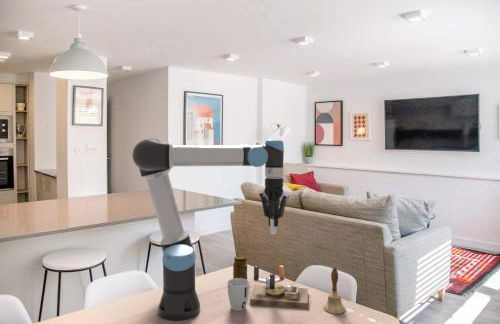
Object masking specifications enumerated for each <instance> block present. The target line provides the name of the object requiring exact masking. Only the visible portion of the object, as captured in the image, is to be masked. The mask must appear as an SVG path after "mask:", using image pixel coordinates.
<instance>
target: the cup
mask: <svg viewBox="0 0 500 324" xmlns="http://www.w3.org/2000/svg"><path fill="white" fill-rule="evenodd" d="M249 286H250V281H249V280H248V279H247V280H246V279H242V278H235V279H233V278H231V279H229V280H228V281H227V294H228V300H229V304H230V308H231V310H232V311H235V312H242V311H244V310H245V309H246V306H247V303H248V296H249V289H250V288H249Z"/></svg>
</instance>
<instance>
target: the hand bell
mask: <svg viewBox="0 0 500 324" xmlns="http://www.w3.org/2000/svg"><path fill="white" fill-rule="evenodd" d="M330 276H331V277H330V278H331V283H332V287H331V290H332V291H331V293H329V294H328V298H327V301H326V303H325V304H324V305H323V308H322V309H323V310H324V312H326V313H329V314H333V315H340V314H344V313H345V312H346V306H344V305H343V303H342V298H341V294H339V293H338V287H337V285H338V281H339V272H338V269H337V267H336V266H334V267H332V270H331V274H330Z"/></svg>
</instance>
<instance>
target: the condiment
mask: <svg viewBox="0 0 500 324" xmlns="http://www.w3.org/2000/svg"><path fill="white" fill-rule="evenodd" d="M233 259H234V261H233V262H234V263H233V266H232V268H233V272H232V275H233V276H232V277H233V278H232V279H235V278H242V279H246V280H248V263H247V257H246V256H243V255H236V256H235V257H234V258H233ZM250 288H251V286H250V285H249V289H250Z"/></svg>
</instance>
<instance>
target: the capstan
mask: <svg viewBox="0 0 500 324" xmlns="http://www.w3.org/2000/svg"><path fill="white" fill-rule="evenodd" d="M278 268H279V269H278V271H279V272H278V278H276V274H275V273H269V276H267V277H265V279H264V278H263V279H262V278H260V266H258V265H254V266H253V281H254V282H255V283H260V284H261V283H262V284H265V286H266V287H265V294H267V295H269V296H273V297H278V296H282V295H284V294H285V287H286V286H284V285H282V284H278V283H280V282H283V281H284V280H285V265H282V264H281V265H279V267H278Z"/></svg>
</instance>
